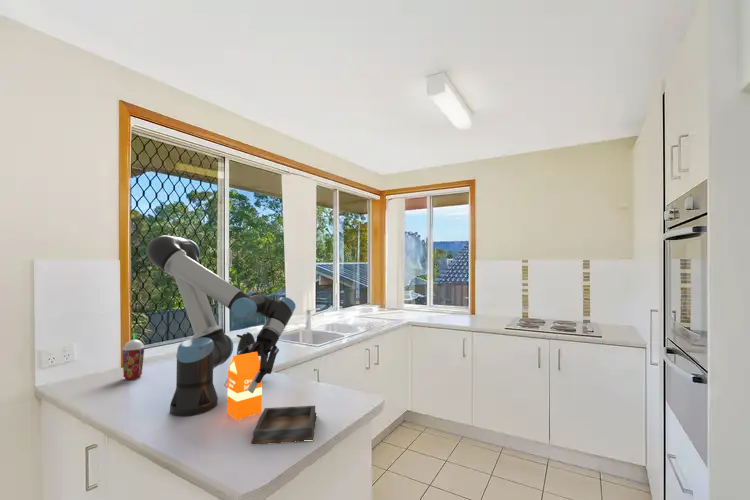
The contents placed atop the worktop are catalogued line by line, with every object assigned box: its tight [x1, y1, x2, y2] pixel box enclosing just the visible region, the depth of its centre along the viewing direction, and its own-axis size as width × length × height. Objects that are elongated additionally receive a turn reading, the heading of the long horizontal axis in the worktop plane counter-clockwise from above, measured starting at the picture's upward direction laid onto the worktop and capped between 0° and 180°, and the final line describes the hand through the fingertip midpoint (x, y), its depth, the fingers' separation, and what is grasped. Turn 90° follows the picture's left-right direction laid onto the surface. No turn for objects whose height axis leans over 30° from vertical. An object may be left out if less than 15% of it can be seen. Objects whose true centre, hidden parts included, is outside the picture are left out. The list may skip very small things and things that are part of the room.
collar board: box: [250, 405, 317, 445], centre depth 107 cm, size 17×17×4 cm
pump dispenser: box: [236, 331, 256, 355], centre depth 185 cm, size 10×10×15 cm
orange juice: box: [226, 352, 263, 421], centre depth 119 cm, size 8×9×20 cm
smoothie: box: [121, 333, 146, 381], centre depth 157 cm, size 8×8×20 cm
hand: (238, 389), depth 116 cm, fingers closed on orange juice, 9 cm apart
